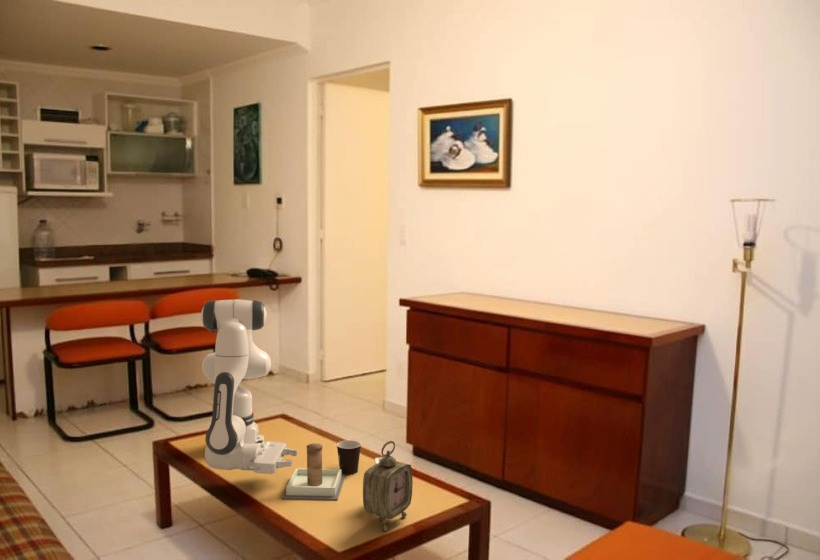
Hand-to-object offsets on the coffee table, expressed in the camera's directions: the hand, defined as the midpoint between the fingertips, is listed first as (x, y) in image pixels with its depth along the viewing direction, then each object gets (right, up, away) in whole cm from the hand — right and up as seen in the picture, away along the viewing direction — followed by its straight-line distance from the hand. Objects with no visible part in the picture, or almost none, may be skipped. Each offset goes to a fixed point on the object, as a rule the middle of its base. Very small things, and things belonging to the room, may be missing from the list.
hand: (294, 457), depth 227 cm
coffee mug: (+17, -9, +16) cm, 25 cm away
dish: (+7, -10, +1) cm, 12 cm away
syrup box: (+30, -12, -12) cm, 35 cm away
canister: (+7, -9, +1) cm, 11 cm away
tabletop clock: (+32, -13, -24) cm, 42 cm away
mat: (+7, -10, +1) cm, 12 cm away
